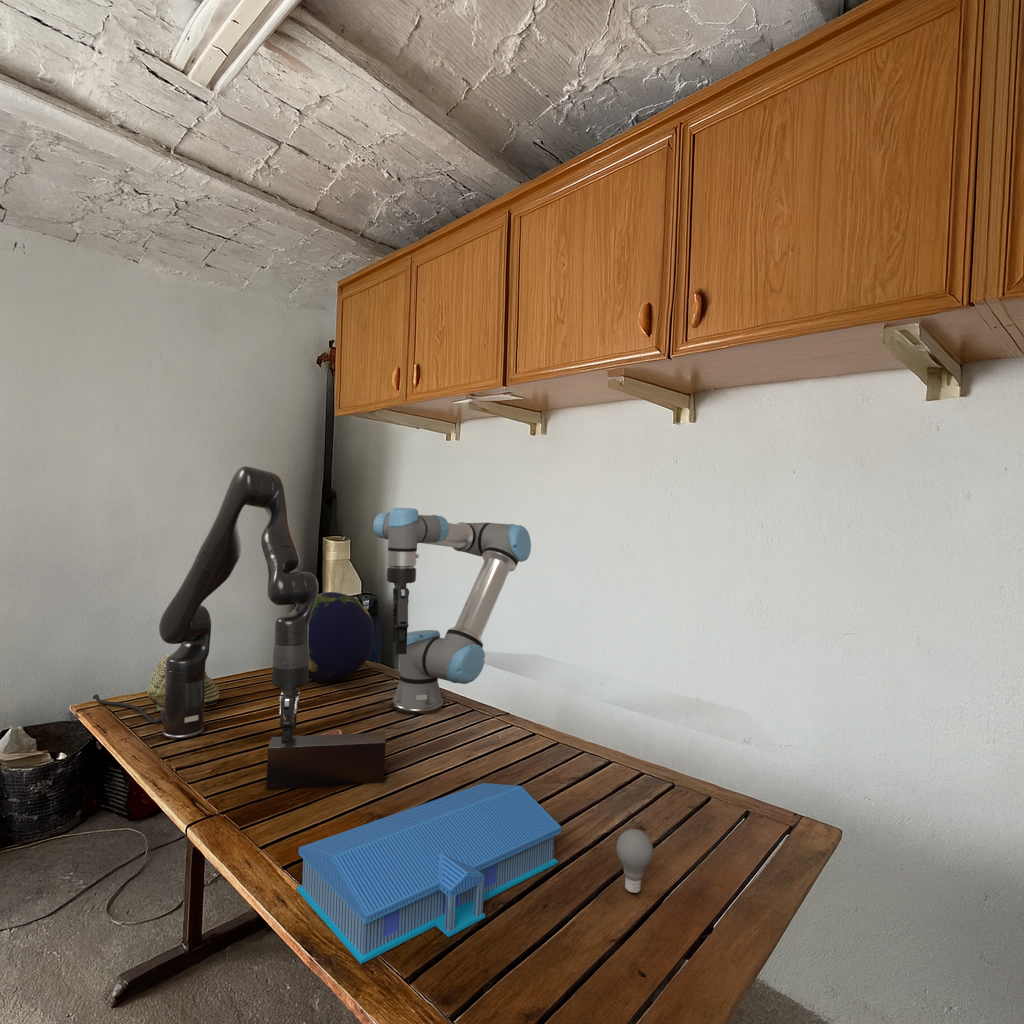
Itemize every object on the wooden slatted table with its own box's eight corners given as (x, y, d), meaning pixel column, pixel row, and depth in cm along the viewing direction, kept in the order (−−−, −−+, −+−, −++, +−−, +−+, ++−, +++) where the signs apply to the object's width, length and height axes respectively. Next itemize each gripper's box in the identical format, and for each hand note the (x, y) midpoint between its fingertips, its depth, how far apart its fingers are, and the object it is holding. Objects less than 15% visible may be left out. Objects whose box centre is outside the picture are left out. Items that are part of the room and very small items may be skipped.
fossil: (144, 707, 182) (145, 655, 182) (212, 696, 194) (213, 647, 194) (151, 716, 175) (153, 662, 175) (221, 703, 188) (223, 653, 188)
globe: (261, 684, 208) (265, 593, 208) (321, 664, 236) (324, 584, 236) (336, 698, 197) (339, 602, 197) (389, 675, 225) (393, 591, 224)
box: (266, 789, 136) (267, 747, 136) (270, 777, 142) (271, 737, 142) (384, 782, 142) (385, 742, 141) (383, 770, 148) (384, 732, 147)
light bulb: (610, 879, 108) (613, 822, 108) (644, 879, 109) (647, 822, 109) (619, 902, 102) (622, 840, 102) (655, 901, 103) (658, 840, 103)
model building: (372, 977, 84) (375, 903, 84) (295, 888, 102) (297, 827, 102) (571, 871, 110) (574, 814, 110) (482, 815, 129) (484, 766, 128)
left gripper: (306, 670, 133) (304, 747, 134) (311, 654, 147) (309, 723, 147) (268, 672, 132) (266, 749, 132) (276, 655, 145) (275, 725, 146)
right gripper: (421, 573, 154) (418, 659, 155) (411, 561, 179) (409, 636, 179) (389, 572, 153) (386, 660, 153) (384, 561, 177) (382, 637, 177)
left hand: (289, 735), depth 140 cm, fingers open, 8 cm apart
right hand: (399, 647), depth 166 cm, fingers open, 13 cm apart
